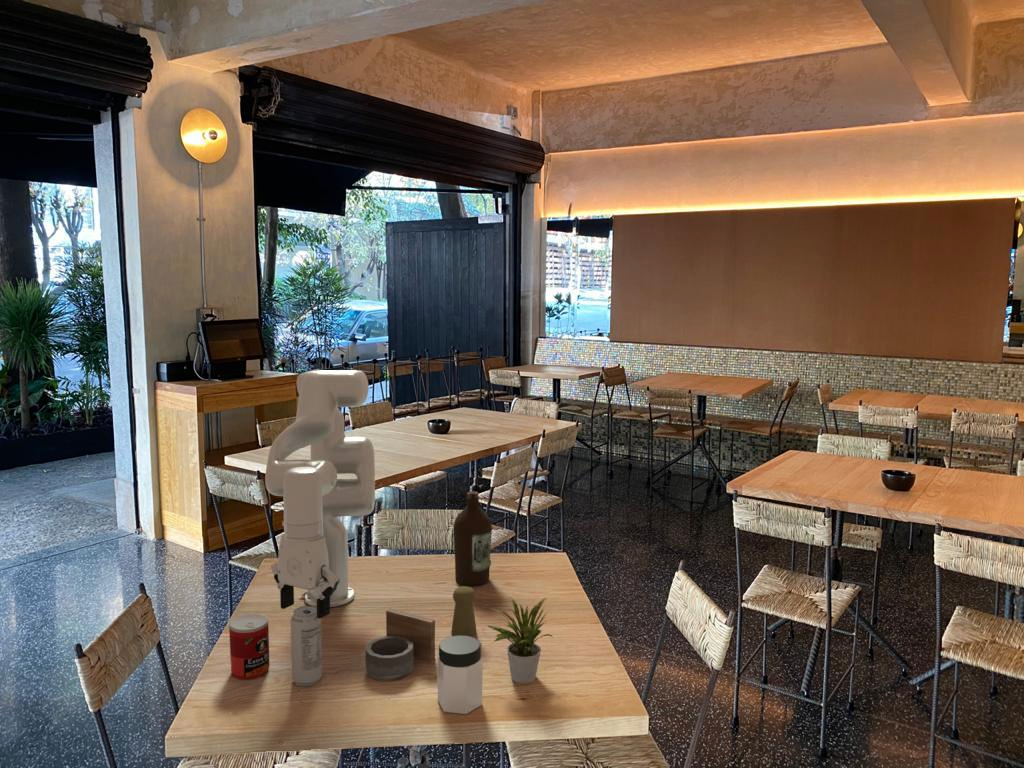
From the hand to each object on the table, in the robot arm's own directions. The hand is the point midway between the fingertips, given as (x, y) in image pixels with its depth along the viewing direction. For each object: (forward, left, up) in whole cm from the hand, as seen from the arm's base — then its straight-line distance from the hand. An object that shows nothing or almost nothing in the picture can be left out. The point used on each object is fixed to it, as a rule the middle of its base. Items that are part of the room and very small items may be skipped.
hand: (305, 611), depth 151 cm
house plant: (+38, +24, -15) cm, 47 cm away
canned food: (-13, -3, -15) cm, 20 cm away
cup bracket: (+12, +14, -15) cm, 24 cm away
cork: (+17, +34, -15) cm, 41 cm away
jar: (+32, +8, -15) cm, 36 cm away
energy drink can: (0, 0, -15) cm, 15 cm away
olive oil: (+2, +63, -15) cm, 65 cm away
